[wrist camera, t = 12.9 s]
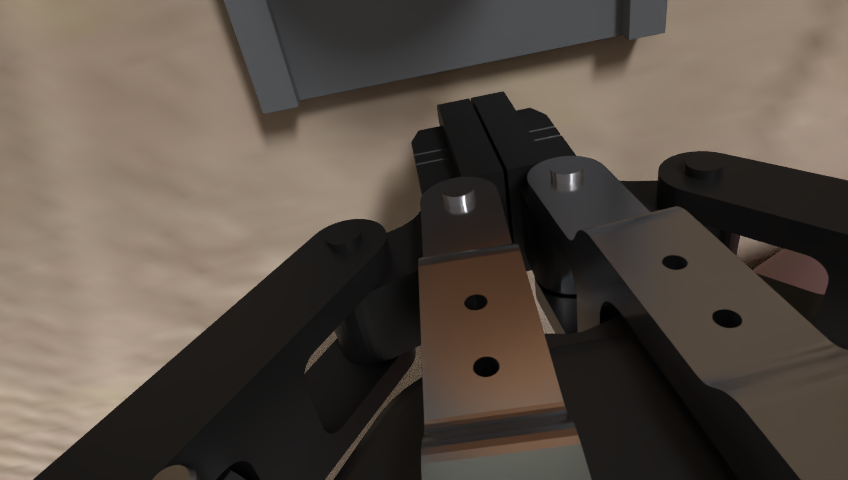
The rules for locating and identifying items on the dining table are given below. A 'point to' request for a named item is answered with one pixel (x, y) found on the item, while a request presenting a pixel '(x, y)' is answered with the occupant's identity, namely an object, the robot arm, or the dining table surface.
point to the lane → (411, 38)
